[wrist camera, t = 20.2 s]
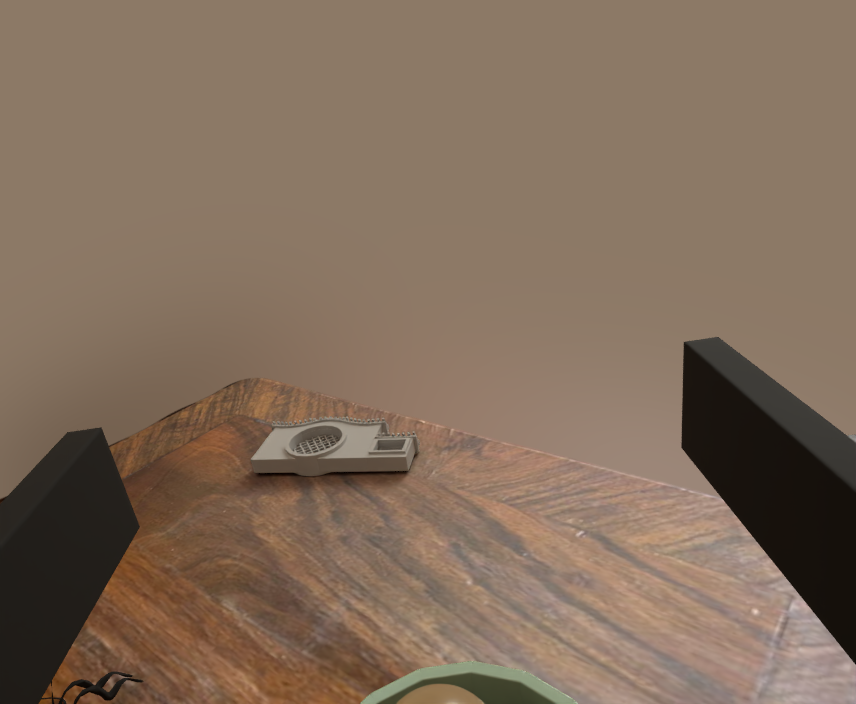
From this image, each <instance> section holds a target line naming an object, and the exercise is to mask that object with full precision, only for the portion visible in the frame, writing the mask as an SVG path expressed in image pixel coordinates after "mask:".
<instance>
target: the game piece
mask: <svg viewBox="0 0 856 704" xmlns="http://www.w3.org/2000/svg"><path fill="white" fill-rule="evenodd" d="M396 704H485V703H484V702H483V701H482V700H480V699H479V698H478V697H477V696H476V695H474V694H473V693H471V692H469V691H467V690H465V689H463V688H461V687H458V686H455V685H450V684H431V685H426V686H423V687H420V688H417V689H415V690H413V691H411V692H410V693H408V694H407V695H405V696H404V697H403V698H402V699H400V700H399V701H398V702H397V703H396Z"/></svg>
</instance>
